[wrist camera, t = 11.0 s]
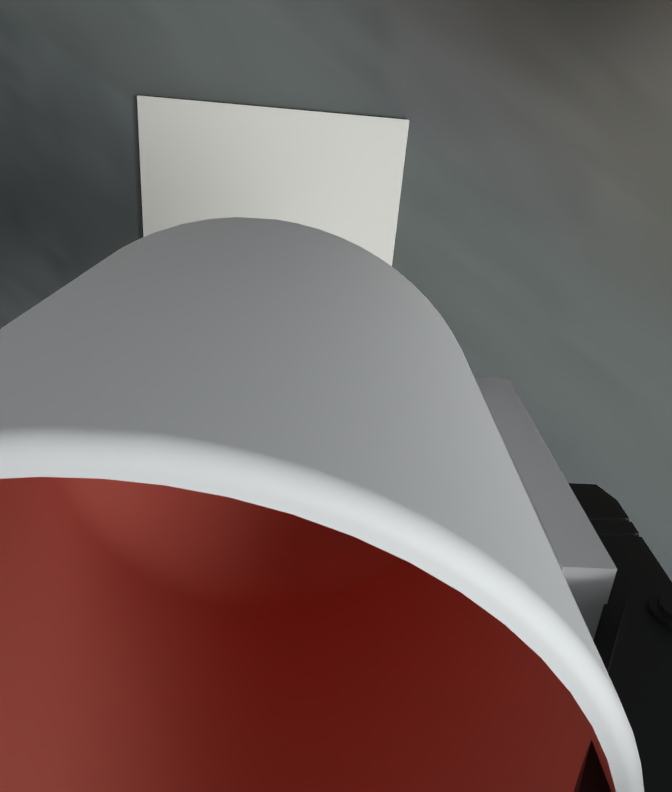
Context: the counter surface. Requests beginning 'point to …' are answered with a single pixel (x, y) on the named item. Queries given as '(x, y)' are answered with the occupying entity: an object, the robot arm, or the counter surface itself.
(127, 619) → the cup
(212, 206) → the pad
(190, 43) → the counter surface
